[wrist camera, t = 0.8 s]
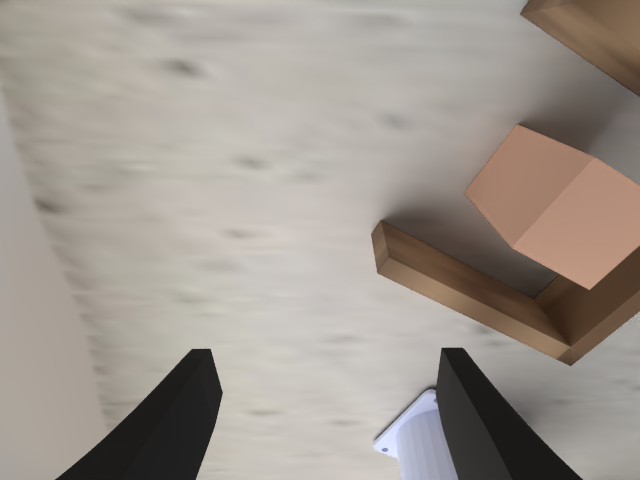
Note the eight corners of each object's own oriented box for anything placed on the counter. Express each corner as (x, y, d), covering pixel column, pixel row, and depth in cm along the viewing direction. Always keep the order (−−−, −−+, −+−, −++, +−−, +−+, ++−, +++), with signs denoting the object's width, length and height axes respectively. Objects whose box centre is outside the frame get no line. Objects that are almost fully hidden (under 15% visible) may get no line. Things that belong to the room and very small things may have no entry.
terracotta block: (579, 162, 18) (679, 210, 13) (522, 225, 20) (589, 290, 14) (516, 123, 17) (594, 156, 12) (463, 192, 19) (511, 247, 14)
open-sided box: (735, 129, 17) (840, 151, 13) (534, 316, 22) (570, 366, 19) (537, -12, 15) (599, -31, 11) (371, 234, 20) (377, 273, 17)
